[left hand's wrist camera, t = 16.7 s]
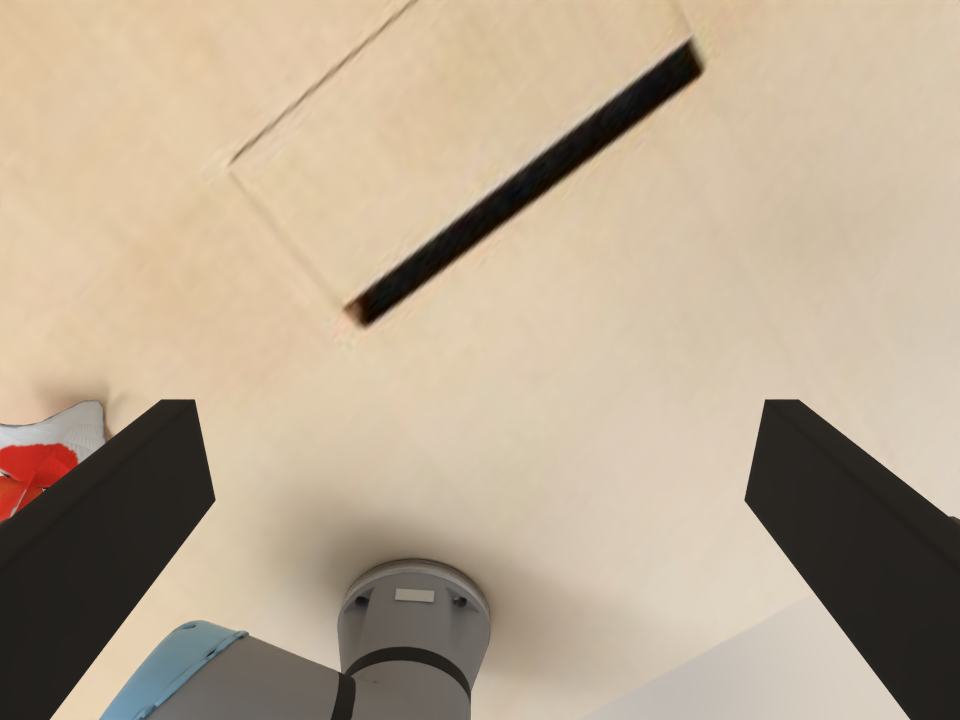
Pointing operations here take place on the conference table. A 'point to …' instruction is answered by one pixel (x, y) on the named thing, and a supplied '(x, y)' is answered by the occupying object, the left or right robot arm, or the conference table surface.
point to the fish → (46, 452)
